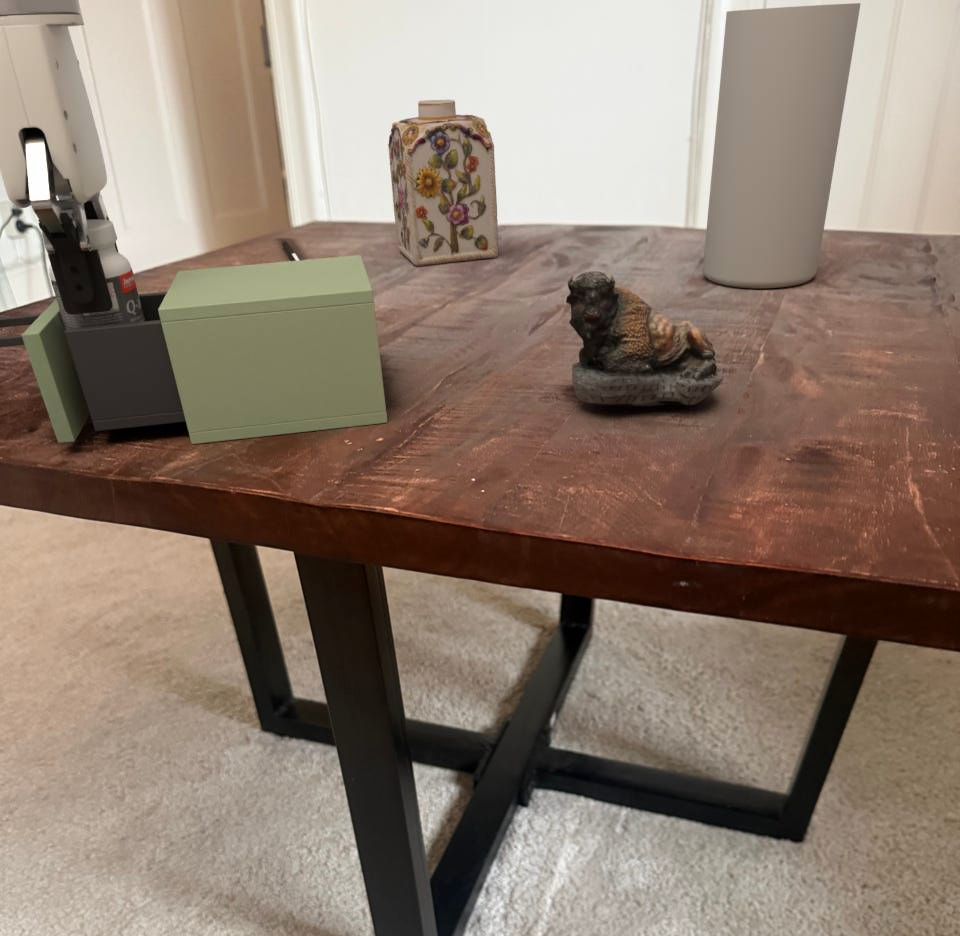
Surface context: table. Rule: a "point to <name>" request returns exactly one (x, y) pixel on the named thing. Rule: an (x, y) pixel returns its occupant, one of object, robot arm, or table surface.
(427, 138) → the decorative jar
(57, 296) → the pill bottle
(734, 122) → the cylinder vase
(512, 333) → the table surface
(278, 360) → the sage green drawer box
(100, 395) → the pull-out drawer
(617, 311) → the bison figurine
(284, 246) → the pen
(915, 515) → the table surface
